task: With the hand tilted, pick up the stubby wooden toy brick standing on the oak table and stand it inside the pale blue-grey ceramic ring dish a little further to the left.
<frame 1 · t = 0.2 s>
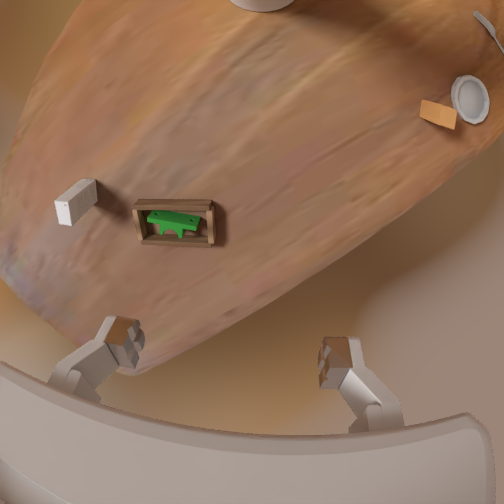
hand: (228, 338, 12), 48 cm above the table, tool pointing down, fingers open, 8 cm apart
skincare box: (90, 189, 60), on the table
pipe clamp: (176, 218, 64), on the table
wooden toy brick: (428, 110, 44), on the table
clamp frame: (175, 219, 63), on the table
fork: (496, 44, 30), on the table
ring dish: (469, 98, 40), on the table
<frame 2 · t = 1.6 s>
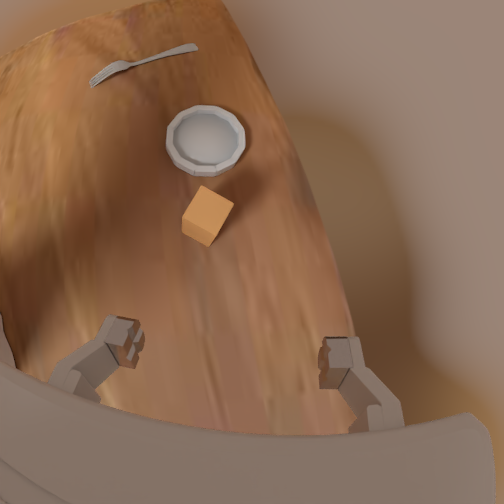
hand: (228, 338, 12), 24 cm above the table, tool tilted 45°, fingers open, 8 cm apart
wooden toy brick: (202, 226, 37), on the table
fork: (143, 64, 38), on the table
ring dish: (205, 141, 38), on the table
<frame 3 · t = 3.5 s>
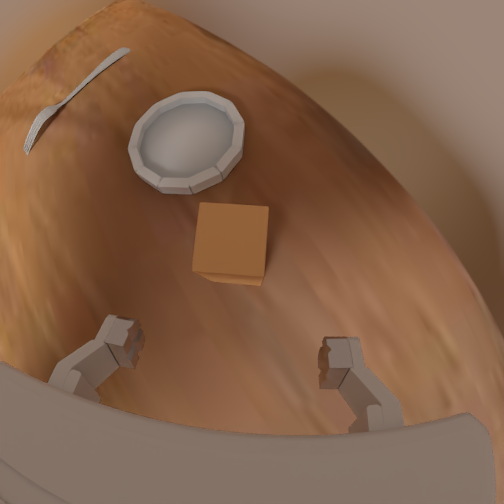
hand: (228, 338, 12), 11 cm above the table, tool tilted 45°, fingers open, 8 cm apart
wooden toy brick: (238, 259, 24), on the table
fork: (75, 98, 28), on the table
ring dish: (187, 142, 26), on the table
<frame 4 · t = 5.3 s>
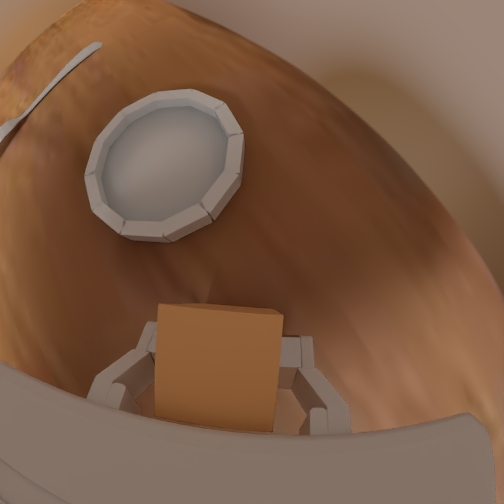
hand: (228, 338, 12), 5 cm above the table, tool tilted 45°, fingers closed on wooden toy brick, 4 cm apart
wooden toy brick: (236, 339, 16), on the table, touching gripper
fork: (38, 107, 21), on the table
ring dish: (163, 163, 18), on the table
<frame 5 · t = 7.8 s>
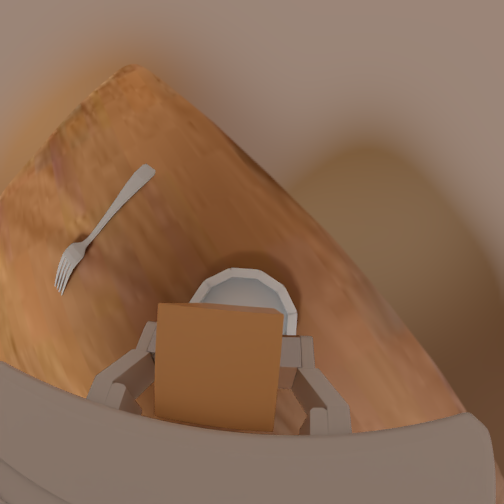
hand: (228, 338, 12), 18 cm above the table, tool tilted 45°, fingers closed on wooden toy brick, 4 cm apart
wooden toy brick: (237, 339, 16), point 13 cm above the table, touching gripper
fork: (101, 231, 32), on the table
ring dish: (241, 322, 29), on the table
when the fingers open (7 cm above the table, at t = 10.2 s): wooden toy brick drops 1 cm, resting on ring dish.
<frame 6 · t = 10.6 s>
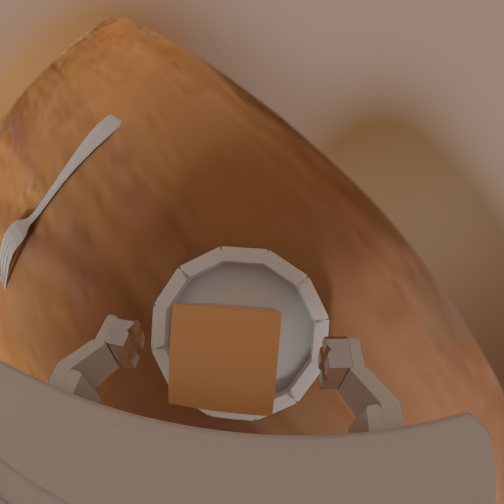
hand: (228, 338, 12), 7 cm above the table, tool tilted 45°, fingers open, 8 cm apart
wooden toy brick: (239, 336, 18), point 1 cm above the table, touching ring dish
fork: (50, 204, 21), on the table
ring dish: (239, 334, 18), on the table
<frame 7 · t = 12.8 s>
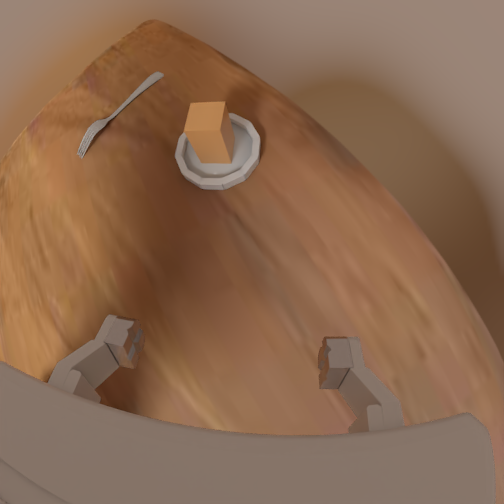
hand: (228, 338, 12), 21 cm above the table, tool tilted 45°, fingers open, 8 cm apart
wooden toy brick: (218, 150, 36), point 1 cm above the table, touching ring dish
fork: (120, 113, 40), on the table
ring dish: (218, 152, 36), on the table
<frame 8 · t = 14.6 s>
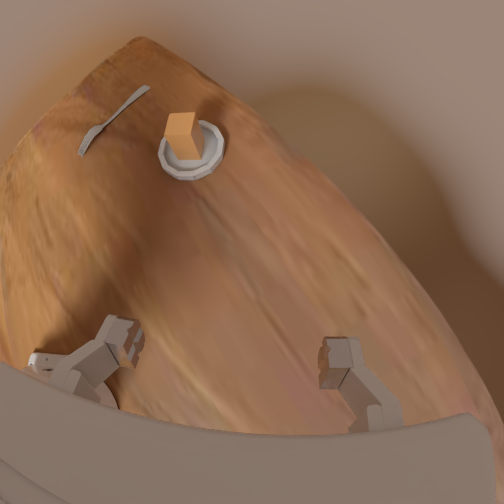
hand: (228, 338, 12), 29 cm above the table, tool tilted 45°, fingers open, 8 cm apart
wooden toy brick: (191, 149, 45), point 1 cm above the table, touching ring dish
fork: (113, 120, 48), on the table
ring dish: (192, 151, 45), on the table
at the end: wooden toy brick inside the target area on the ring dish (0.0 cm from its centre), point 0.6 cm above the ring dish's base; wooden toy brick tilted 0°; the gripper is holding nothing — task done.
